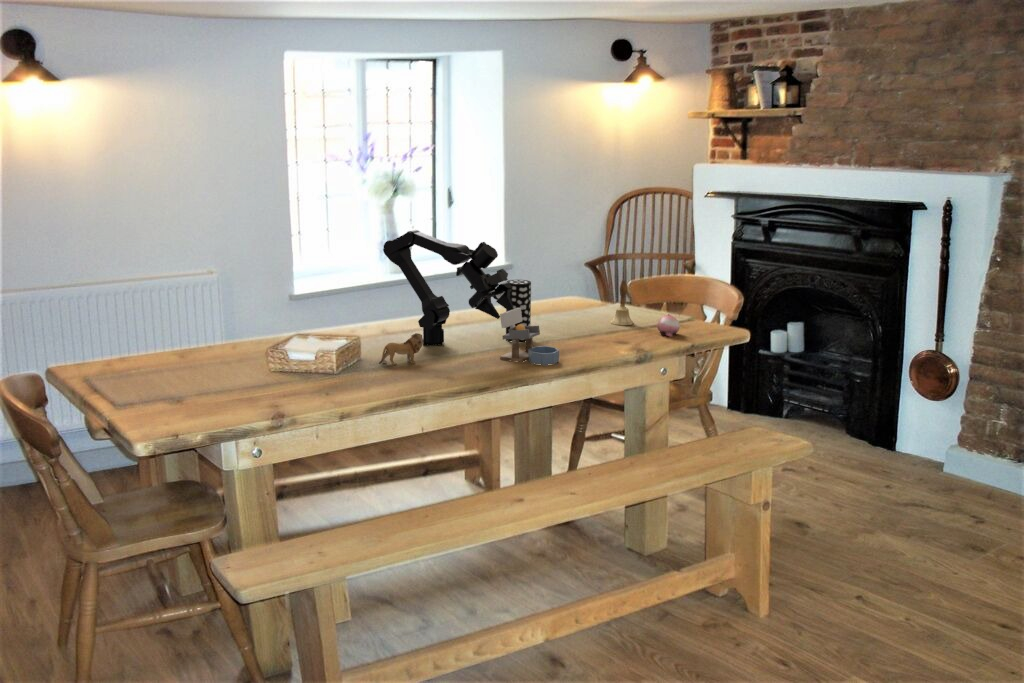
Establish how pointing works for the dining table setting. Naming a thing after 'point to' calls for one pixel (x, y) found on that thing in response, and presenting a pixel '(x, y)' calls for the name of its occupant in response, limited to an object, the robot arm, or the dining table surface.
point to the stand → (518, 351)
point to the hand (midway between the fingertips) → (506, 315)
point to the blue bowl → (543, 355)
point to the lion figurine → (403, 348)
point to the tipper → (510, 320)
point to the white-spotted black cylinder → (521, 301)
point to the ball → (520, 327)
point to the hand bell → (622, 308)
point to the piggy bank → (668, 325)
